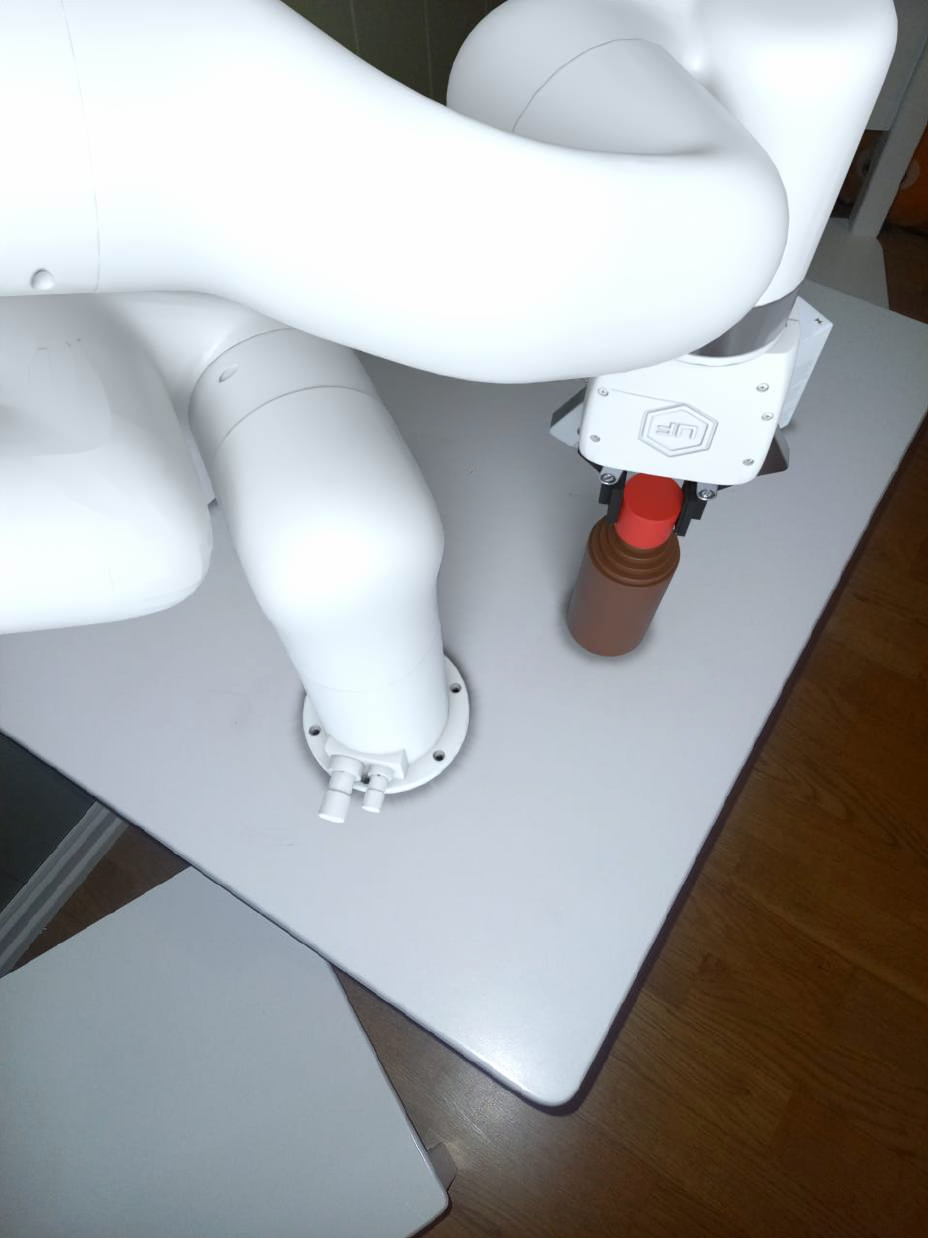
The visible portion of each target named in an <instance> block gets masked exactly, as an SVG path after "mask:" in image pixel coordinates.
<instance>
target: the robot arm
mask: <svg viewBox="0 0 928 1238" xmlns="http://www.w3.org/2000/svg"><path fill="white" fill-rule="evenodd" d="M898 21H899V20H898V16H897V11H896V7H895V3H894V0H506V1H504V2H503V3H502V4H500V5H498V6H497V7H495V8H494V9H492V10H491V11H490V12H489V13H488V14H487V15H486V16H485V17H483V18H482V19H481V20H480V21H479V22H478V23H477V24H476V25H475V26H474V28H473V29H471V31H470V32H469V34H468V35H467V37H466V38H465V40H464V41H463V43H462V45H461V47H460V48H459V50H458V52H457V55H456V57H455V59H454V60H453V63H452V66H451V70H450V73H449V76H448V82H447V87H446V88H447V89H446V105H444V104H442V103H440V102H438V101H436V100H434V99H432V98H430V97H427V96H425V95H423V94H421V93H420V92H418V91H416V90H415V89H412V88H410V87H409V86H407V85H405V84H404V83H402V82H400V81H398V80H396V79H395V78H393V77H391V76H389V75H388V74H386V73H384V72H383V71H381V70H379V69H378V68H376V67H375V66H373V65H372V64H371V63H369V62H367V61H365V59H363V58H361V57H360V56H358V55H357V54H355V53H353V52H352V51H351V50H350V49H348V48H347V47H345V46H344V45H342V44H341V43H340V42H338V41H337V40H335V38H333V37H331V36H330V35H328V34H327V33H326V32H324V31H323V30H322V29H320V28H319V27H318V26H316V25H315V24H314V23H312V22H311V21H309V20H308V19H307V18H305V17H304V16H303V15H301V14H300V13H299V12H297V11H295V10H294V9H293V8H292V7H290V6H289V5H287V3H285V2H284V1H282V0H0V635H7V634H8V635H9V634H17V633H27V632H36V631H45V630H46V631H47V630H55V629H56V630H57V629H63V628H73V627H82V626H83V627H84V626H91V625H99V624H105V623H115V622H119V621H125V620H131V619H137V618H141V617H146V616H150V615H152V614H157V613H159V612H163V611H165V610H168V609H170V608H172V607H174V606H176V605H178V604H180V603H182V602H183V601H185V600H187V599H188V598H189V597H191V596H192V595H193V594H194V593H195V592H196V591H197V590H198V589H199V588H200V586H202V583H203V582H204V580H205V579H206V577H207V575H208V573H209V571H210V567H211V564H212V559H213V554H214V530H213V523H212V518H211V514H210V510H209V506H208V505H209V504H207V501H206V497H205V493H204V490H203V487H202V484H201V481H200V477H199V474H198V472H197V469H196V466H195V463H194V461H193V458H192V455H191V452H190V450H189V447H197V448H198V450H199V453H200V455H201V458H202V460H203V463H204V466H205V468H206V471H207V473H208V476H209V478H210V481H211V485H212V489H213V492H214V495H215V499H216V500H215V501H216V502H217V505H218V508H219V510H220V512H221V515H222V519H223V520H224V522H225V526H226V528H227V531H228V534H229V536H230V538H231V541H232V543H233V546H234V549H235V551H236V554H237V557H238V559H239V562H240V565H241V567H242V570H243V572H244V575H245V577H246V579H247V582H248V584H249V587H250V589H251V591H252V594H253V595H254V598H255V599H256V602H257V603H258V606H259V607H260V609H261V611H262V612H263V613H264V615H265V617H266V618H267V619H268V620H269V622H270V623H271V624H272V627H273V629H274V630H275V632H276V634H277V637H278V639H279V640H280V642H281V644H282V646H283V648H284V651H285V653H286V655H287V656H288V658H289V660H290V661H291V663H292V666H293V668H294V669H295V671H296V674H297V676H298V678H299V680H300V682H301V684H302V686H303V688H304V690H305V696H304V700H303V708H302V725H303V732H304V733H303V734H304V736H305V739H306V742H307V745H308V747H309V750H310V751H311V753H312V755H313V757H314V758H315V759H316V761H317V763H318V764H319V766H320V767H321V768H322V769H323V770H324V771H325V772H326V773H327V774H328V775H329V776H330V779H329V781H328V782H329V783H328V786H327V789H326V790H325V791H324V792H323V796H322V799H321V803H320V806H319V809H318V813H317V816H318V818H321V819H322V820H325V821H327V822H332V823H337V824H345V822H346V819H347V815H348V812H349V808H350V804H351V802H352V801H351V800H352V798H353V797H352V796H351V795H352V793H353V789H354V790H356V791H359V792H363V793H365V794H364V796H363V799H362V803H361V809H363V810H364V811H367V812H370V813H376V814H377V813H378V814H379V813H381V811H382V807H383V803H384V801H385V797H386V795H388V794H389V795H390V794H398V793H401V792H407V791H411V790H413V789H416V788H418V787H421V786H422V785H425V784H427V783H428V782H430V781H432V779H435V777H437V776H439V775H441V773H442V772H443V771H444V770H445V769H446V768H447V767H448V766H449V765H450V764H451V763H452V762H453V760H455V757H457V755H458V754H459V752H460V751H461V748H462V746H463V743H464V741H465V739H466V737H467V733H468V730H469V729H468V728H469V725H470V700H469V699H470V698H469V693H468V690H467V686H466V682H465V680H464V678H463V676H462V674H461V673H460V671H459V669H458V668H457V666H456V665H455V663H453V661H452V660H451V659H450V658H449V657H448V656H447V655H446V654H444V648H443V638H442V637H443V636H442V627H441V618H440V610H439V603H438V592H437V579H438V574H439V571H440V567H441V563H442V560H443V556H444V552H445V551H444V550H445V533H444V527H443V521H442V518H441V514H440V511H439V508H438V505H437V504H436V500H435V498H434V495H433V493H432V492H431V489H430V487H429V485H428V483H427V480H426V479H425V477H424V474H423V472H422V471H421V469H420V466H419V465H418V463H417V461H416V459H415V457H414V455H413V453H412V451H411V449H410V448H409V445H408V444H407V442H406V441H405V439H404V437H403V435H402V433H401V431H400V430H399V428H398V426H397V423H395V420H394V419H393V417H392V415H391V413H390V412H389V410H388V408H387V407H386V406H385V403H384V402H383V400H382V398H381V396H380V395H379V393H378V391H377V389H376V386H374V383H373V382H372V380H371V378H370V376H369V374H368V373H367V371H366V369H365V367H364V365H363V363H362V361H361V359H360V358H359V357H358V355H357V354H356V351H355V350H357V351H361V352H364V353H367V354H369V355H372V356H375V357H377V358H378V357H379V358H382V359H384V360H388V361H390V362H394V363H398V364H400V365H403V366H406V367H409V368H413V369H418V370H421V371H425V372H427V373H431V374H434V375H438V376H443V377H449V378H453V379H459V380H463V381H470V382H479V383H488V384H497V385H498V384H500V385H501V384H502V385H506V384H507V385H508V384H510V385H511V384H512V385H513V384H515V385H516V384H517V385H518V384H523V385H524V384H533V383H534V384H535V383H546V382H555V381H565V380H573V379H584V378H585V379H586V378H588V379H587V383H586V385H585V386H584V387H583V388H581V389H580V390H579V391H578V392H576V393H575V394H574V395H573V396H572V397H571V398H569V399H568V400H567V401H566V402H565V403H564V404H562V405H561V406H560V407H559V408H558V409H556V410H555V411H554V412H553V413H552V415H551V420H550V425H549V431H548V432H549V435H551V436H552V437H554V438H555V439H557V441H560V442H562V443H563V444H565V445H567V446H568V447H570V448H575V449H576V450H577V454H578V455H579V456H580V458H582V459H583V460H584V461H585V462H587V463H588V464H589V465H590V467H592V468H593V469H594V470H596V471H597V472H598V481H599V482H600V483H601V485H600V490H599V495H598V500H597V504H599V505H605V506H607V510H606V514H607V516H606V522H605V524H610V525H613V523H617V519H618V515H619V511H620V506H621V502H622V498H623V494H624V489H625V484H626V483H627V475H628V472H634V473H645V474H651V475H657V476H663V477H670V478H672V479H677V480H683V482H682V485H681V487H680V488H681V490H682V492H683V504H682V509H681V511H680V514H679V516H678V518H677V521H676V523H675V525H674V527H673V529H674V533H676V535H677V537H683V538H685V537H686V534H687V532H688V529H689V527H690V524H691V522H692V520H694V521H695V520H697V521H701V520H702V516H703V514H704V512H705V509H706V507H707V504H708V502H709V501H713V500H716V498H717V497H718V495H719V494H718V492H719V491H722V490H725V489H727V488H730V487H734V486H736V485H744V484H746V483H750V482H751V481H753V480H754V479H755V478H756V477H761V476H767V475H772V474H777V473H782V472H785V471H787V470H788V468H790V467H789V466H790V447H789V445H788V442H787V440H786V438H785V435H784V433H783V431H782V430H781V429H782V428H781V429H780V427H779V424H778V422H779V419H780V416H781V413H782V410H783V407H784V404H785V400H786V397H787V394H788V391H789V387H790V384H791V380H792V377H793V373H794V369H795V364H796V360H797V355H798V350H799V343H800V334H801V327H800V321H799V310H798V306H797V304H796V302H795V301H796V299H797V296H799V293H800V292H801V289H802V286H803V284H804V282H805V279H806V276H807V272H808V270H809V268H810V265H811V263H812V260H813V258H814V256H815V253H816V250H817V248H818V246H819V244H820V241H821V238H822V236H823V234H824V232H825V229H826V226H827V224H828V221H829V220H830V216H831V214H832V211H833V210H834V206H835V205H836V202H837V199H838V197H839V194H840V192H841V189H842V187H843V184H844V182H845V179H846V177H847V174H848V172H849V169H850V167H851V164H852V162H853V159H854V158H855V155H856V153H857V150H858V147H859V145H860V142H861V140H862V137H863V135H864V133H865V130H866V127H867V125H868V122H869V120H870V117H871V115H872V112H873V110H874V107H875V105H876V103H877V100H878V98H879V95H880V93H881V91H882V87H883V86H884V82H885V80H886V77H887V74H888V72H889V69H890V67H891V63H892V60H893V58H894V54H895V52H896V47H897V41H898V32H899V31H898V29H899V28H898V27H899V24H898V23H899V22H898ZM455 690H457V691H458V692H454V691H455ZM316 732H319V733H318V734H315V733H316ZM438 757H440V758H442V760H437V759H438ZM366 780H369V781H368V783H366Z"/></svg>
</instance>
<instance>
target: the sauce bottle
mask: <svg viewBox="0 0 928 1238" xmlns="http://www.w3.org/2000/svg"><path fill="white" fill-rule="evenodd" d="M606 516H607V513H606V514H605V515H603V516H602V517H601V518H600V519H598V521H596V522H595V524H594V525H593V526H592V528H591V529H590V532H589V535H588V537H587V541H586V544H585V548H584V552H583V555H582V559H581V563H580V566H579V570H578V573H577V577H576V580H575V583H574V584H575V585H574V587H573V591H572V595H571V598H570V601H569V606H568V608H567V614H566V621H567V622H566V623H567V627H568V630H569V632H570V634H571V636H572V638H573V639H574V641H575V642H576V643H577V645H579V646H581V648H583V649H584V650H586V651H587V652H589V653H592V654H593V655H597V656H601V657H607V658H608V657H610V658H612V657H621V656H624V655H625V654H629V653H631V652H632V651H634V650H635V649H636V648H637V647H638V646H640V644H641V643H642V641H643V640H644V638H645V636H646V634H647V632H648V630H649V628H650V626H651V624H652V621H653V620H654V617H655V615H656V613H657V611H658V609H659V607H660V604H661V603H662V601H663V598H664V597H665V594H666V592H667V590H668V588H669V586H670V584H671V582H672V580H673V577H674V575H675V573H676V571H677V569H678V567H679V564H680V561H681V545H680V541H679V540H680V539H679V536H677V533H674V528H673V530H672V532H671V534H670V536H669V538H668V539H667V540H666V541H665V542H664V543H663V544H661V545H659V546H657V547H654V548H638V547H635V546H632V545H630V544H628V543H626V542H625V541H624V540H623V539H622V538H621V537H620V536H619V535H618V533H617V531H616V529H615V525H614V523H613V525H610V524H605V522H606Z"/></svg>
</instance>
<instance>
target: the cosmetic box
mask: <svg viewBox="0 0 928 1238" xmlns="http://www.w3.org/2000/svg"><path fill="white" fill-rule="evenodd" d="M795 302H796V304H797V306H798V310H799V321H800V327H801V334H800V343H799V350H798V355H797V360H796V364H795V369H794V373H793V377H792V380H791V384H790V387H789V391H788V394H787V397H786V400H785V404H784V407H783V410H782V413H781V416H780V419H779V422H778V424H779V427H780V429H783V428H784V427H786V426H788V425H789V424H790V422H791V419H792V417H793V415H794V413H795V411H796V408H797V406H798V404H799V402H800V400H801V398H802V395H803V393H804V391H805V389H806V386H807V384H808V382H809V379H810V377H811V375H812V374H813V373H812V372H813V371H814V369H815V367H816V364H817V362H818V360H819V357H820V355H821V353H822V350H823V349H824V346H825V344H826V342H827V340H828V337H829V335H830V333H831V331H832V328H833V326H834V323H833V322H832V321H831V320H829V319H828V318H826V316H824V315H823V314H822V313H820V312H819V311H818V310H817V309H816V308H815V307H813V306H812V305H811V304H810V303H809V302H807V300H805V299H804V298H802V296H800V295H798V296H797V299H796V301H795Z"/></svg>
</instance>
